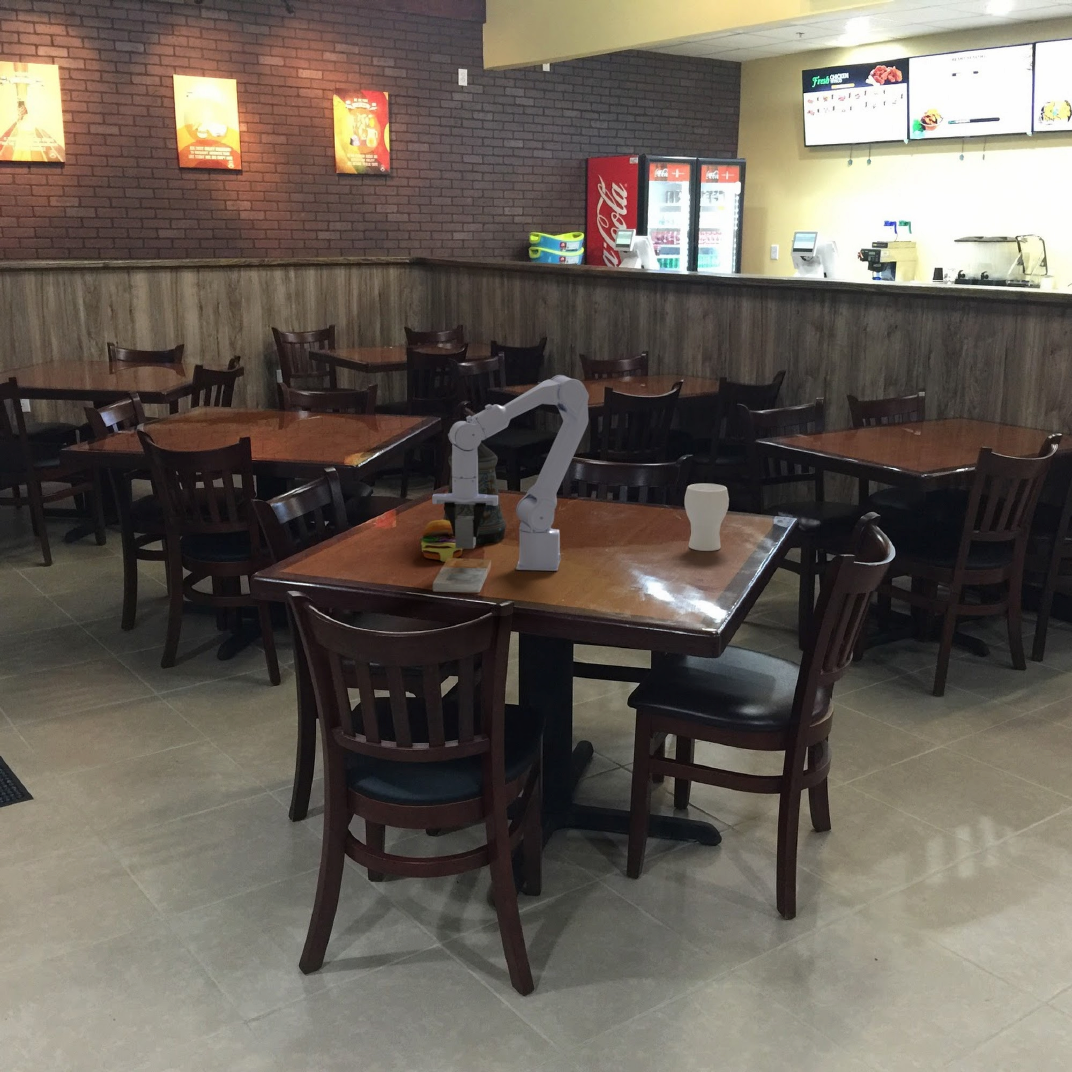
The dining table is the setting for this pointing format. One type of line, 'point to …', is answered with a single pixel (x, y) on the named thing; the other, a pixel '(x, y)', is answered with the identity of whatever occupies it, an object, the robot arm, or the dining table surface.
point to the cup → (706, 514)
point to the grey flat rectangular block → (462, 575)
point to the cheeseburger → (439, 541)
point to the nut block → (464, 532)
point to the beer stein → (492, 518)
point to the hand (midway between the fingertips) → (465, 535)
